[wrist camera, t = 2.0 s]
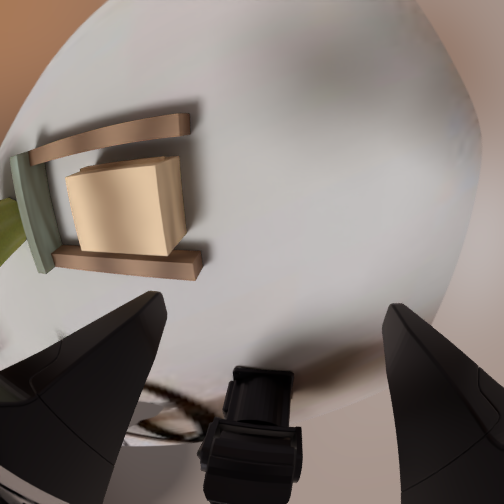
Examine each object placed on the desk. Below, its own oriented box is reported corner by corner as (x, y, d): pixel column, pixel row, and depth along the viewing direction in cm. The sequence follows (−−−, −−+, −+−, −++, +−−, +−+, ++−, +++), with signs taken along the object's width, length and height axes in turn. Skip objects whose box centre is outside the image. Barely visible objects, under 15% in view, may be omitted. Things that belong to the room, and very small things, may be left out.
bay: (189, 113, 16) (168, 113, 13) (202, 267, 22) (189, 292, 19) (34, 149, 19) (9, 158, 16) (58, 256, 24) (38, 272, 21)
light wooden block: (180, 152, 18) (154, 161, 14) (188, 234, 21) (168, 259, 17) (96, 162, 19) (64, 174, 16) (108, 232, 22) (82, 253, 18)
